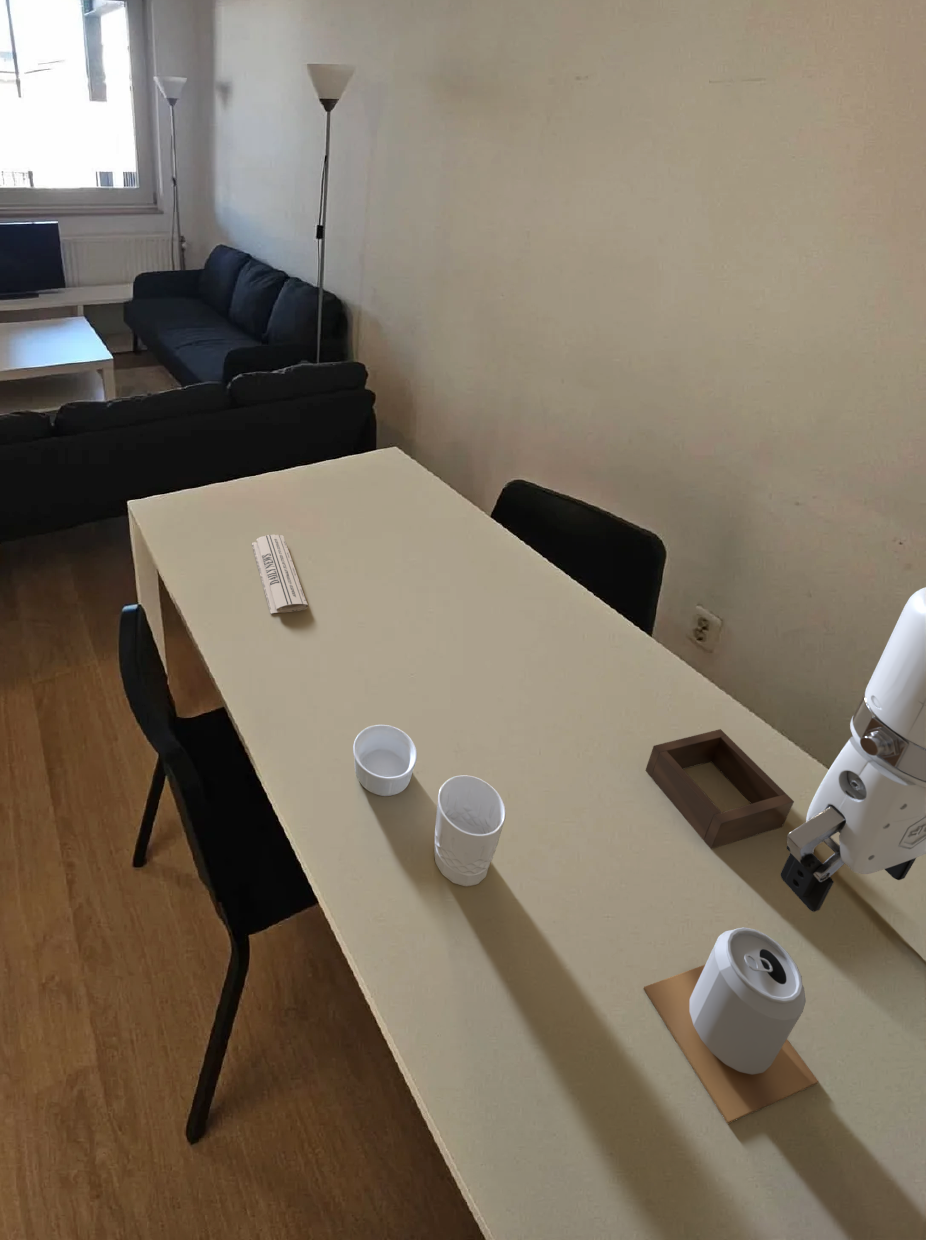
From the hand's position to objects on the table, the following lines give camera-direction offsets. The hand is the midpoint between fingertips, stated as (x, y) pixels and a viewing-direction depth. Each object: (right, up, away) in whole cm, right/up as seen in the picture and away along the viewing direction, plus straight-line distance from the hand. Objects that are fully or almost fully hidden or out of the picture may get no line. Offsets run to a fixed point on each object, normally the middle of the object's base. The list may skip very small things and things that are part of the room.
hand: (841, 878), depth 58 cm
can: (-4, -22, +9) cm, 24 cm away
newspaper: (-54, +9, +77) cm, 94 cm away
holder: (+9, -12, +34) cm, 37 cm away
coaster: (-4, -22, +10) cm, 25 cm away
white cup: (-28, -15, +25) cm, 40 cm away
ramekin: (-36, -10, +36) cm, 52 cm away
